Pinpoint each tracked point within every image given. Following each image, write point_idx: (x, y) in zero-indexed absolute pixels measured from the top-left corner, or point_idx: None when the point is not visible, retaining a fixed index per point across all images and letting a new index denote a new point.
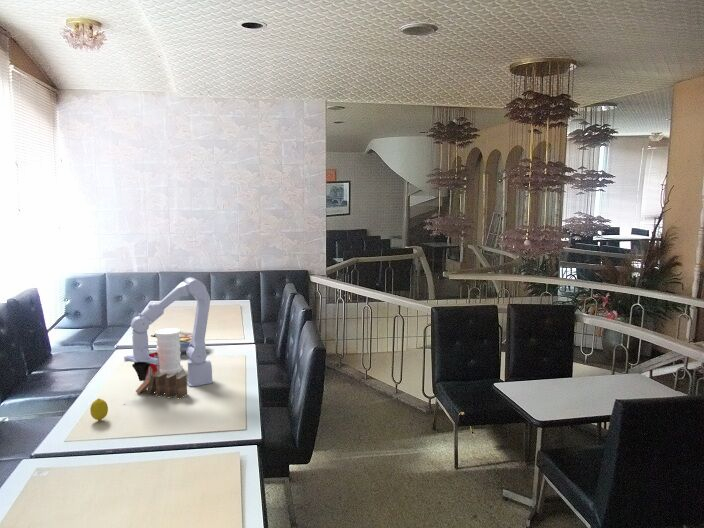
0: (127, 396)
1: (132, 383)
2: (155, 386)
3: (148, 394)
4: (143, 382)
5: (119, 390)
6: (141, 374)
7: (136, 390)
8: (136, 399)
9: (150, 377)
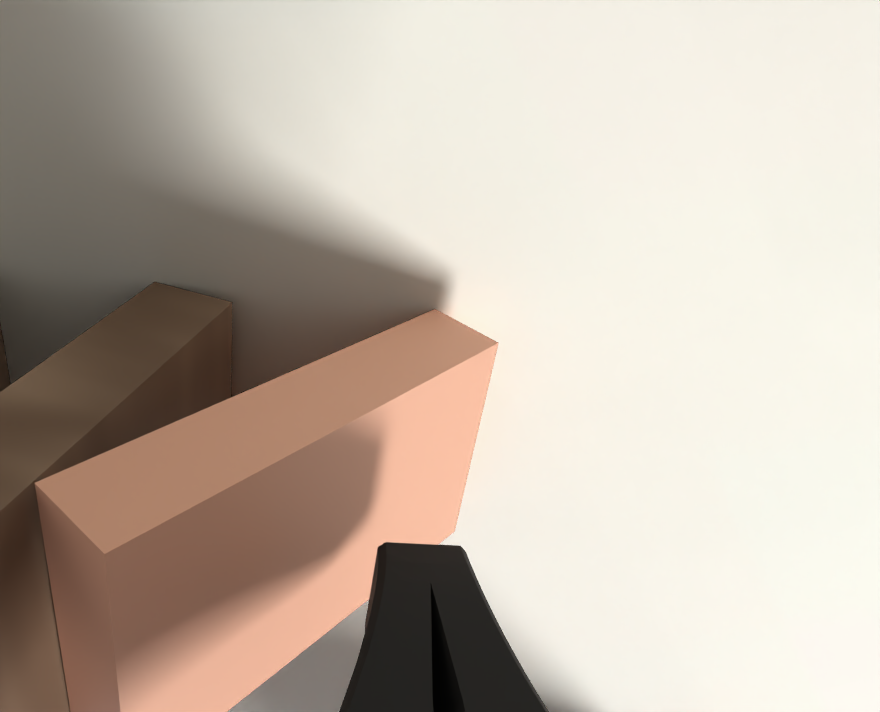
0: (585, 164)
1: (730, 642)
2: None
3: (184, 293)
4: (264, 459)
5: (843, 404)
6: (369, 688)
7: (473, 347)
8: (290, 16)
9: (103, 643)
